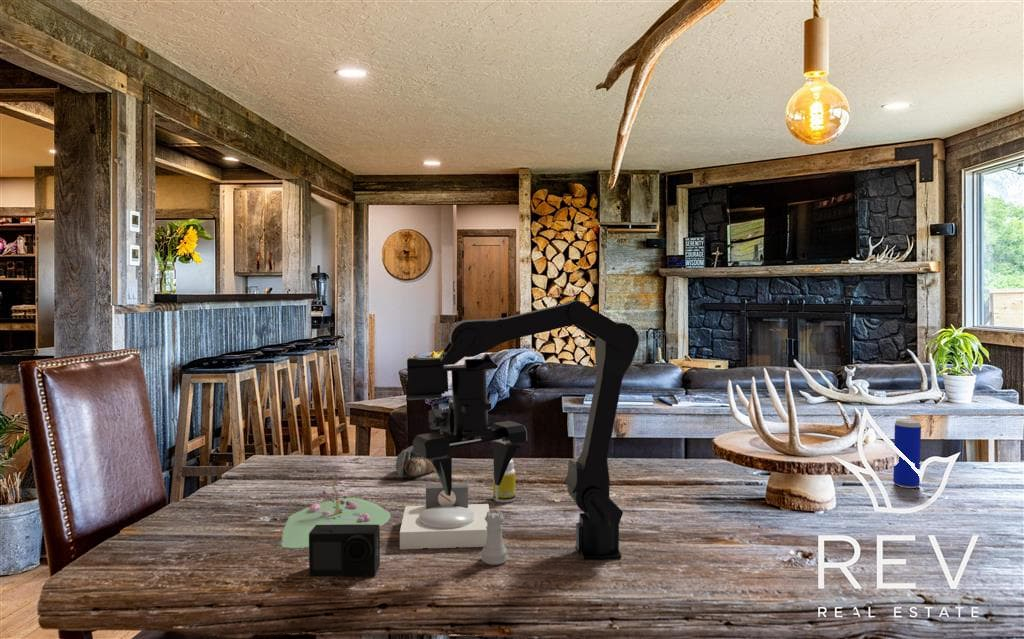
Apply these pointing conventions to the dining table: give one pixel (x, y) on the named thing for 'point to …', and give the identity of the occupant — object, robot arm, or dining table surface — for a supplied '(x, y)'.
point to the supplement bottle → (505, 486)
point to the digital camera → (344, 550)
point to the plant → (331, 517)
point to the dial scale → (444, 521)
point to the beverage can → (907, 452)
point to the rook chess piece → (494, 540)
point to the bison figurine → (412, 463)
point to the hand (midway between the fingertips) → (473, 489)
